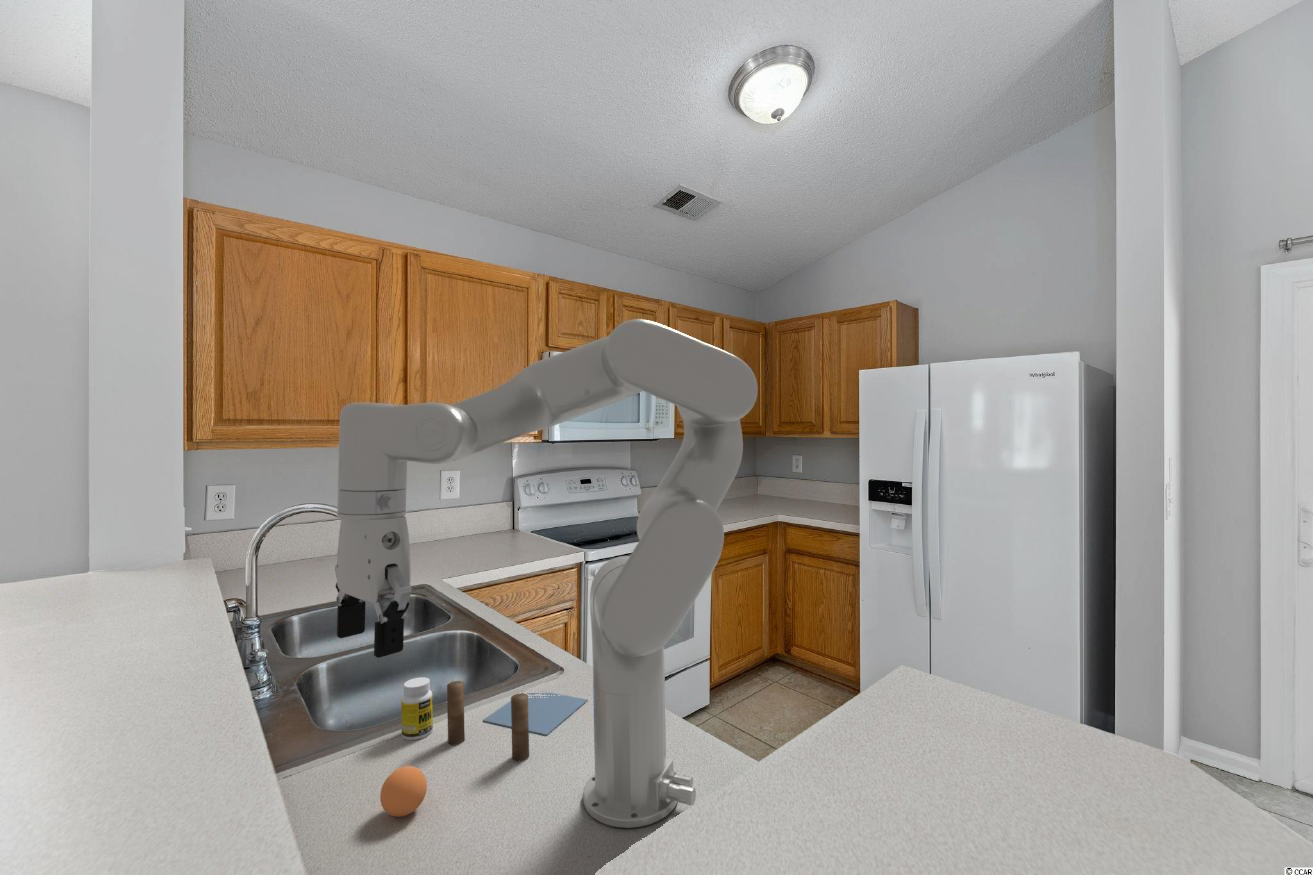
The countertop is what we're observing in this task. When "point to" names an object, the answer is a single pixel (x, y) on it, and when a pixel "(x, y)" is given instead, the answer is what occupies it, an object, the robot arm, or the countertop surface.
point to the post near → (520, 727)
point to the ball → (403, 791)
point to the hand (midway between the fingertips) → (369, 644)
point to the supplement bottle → (417, 709)
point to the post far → (455, 712)
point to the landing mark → (541, 712)
